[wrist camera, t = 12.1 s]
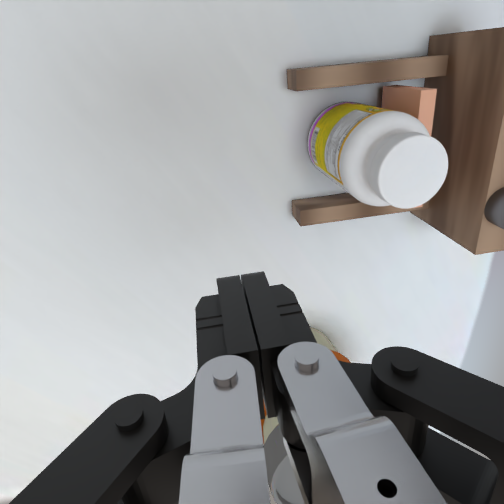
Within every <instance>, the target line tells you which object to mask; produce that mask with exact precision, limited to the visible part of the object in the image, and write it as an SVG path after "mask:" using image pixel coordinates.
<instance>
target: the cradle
mask: <svg viewBox="0 0 504 504" xmlns="http://www.w3.org/2000/svg"><path fill="white" fill-rule="evenodd" d="M418 78H425V84H424V88H433V89H437V93H436V101H435V109H434V117H433V125H432V133H431V137H433V138H435V139H436V140H438V141H439V142H440V143H441V144H442V145H443V147H444V148H445V150H446V153H447V157H448V171H447V175H446V178H445V180H444V182H443V184H442V186H441V188H440V189H439V190H438V192H437V193H436V194H435V195H434V196H433V197H432V198H431V199H430V200H428V201H427V202H425V203H424V204H423V206H422V207H417V208H410V209H401V208H396V207H394V206H392V205H389V206H371V205H368V204H365V203H362V202H360V201H359V200H357V199H356V198H354V197H353V196H352V195H351V194H349V193H344V194H337V195H329V196H322V197H314V198H307V199H299V200H292V214H293V216H294V218H295V219H296V220H297V222H298V223H299V225H300V226H306V225H314V224H321V223H328V222H335V221H342V220H349V219H356V218H363V217H370V216H377V215H385V214H392V213H399V212H406V211H411V213H412V214H414V215H415V216H417V217H418V218H420V219H421V220H423V221H424V222H426V223H428V224H429V225H431V226H432V227H434V228H435V229H437V230H438V231H440V232H441V233H443V234H444V235H446V236H447V237H449V238H450V239H452V240H453V241H455V242H456V243H458V244H460V245H461V246H463V247H464V248H466V249H467V250H469V251H470V252H472V253H473V254H475V255H477V254H483V253H490V252H496V251H502V250H504V27H502V28H493V29H484V30H476V31H467V32H459V33H450V34H442V35H433V36H430V38H429V47H428V56H419V57H409V58H399V59H389V60H379V61H368V62H358V63H348V64H338V65H328V66H317V67H307V68H297V69H287V84H288V89H290V90H294V91H303V90H312V89H322V88H331V87H341V86H351V85H360V84H370V83H379V82H389V81H399V80H408V79H418Z"/></svg>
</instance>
